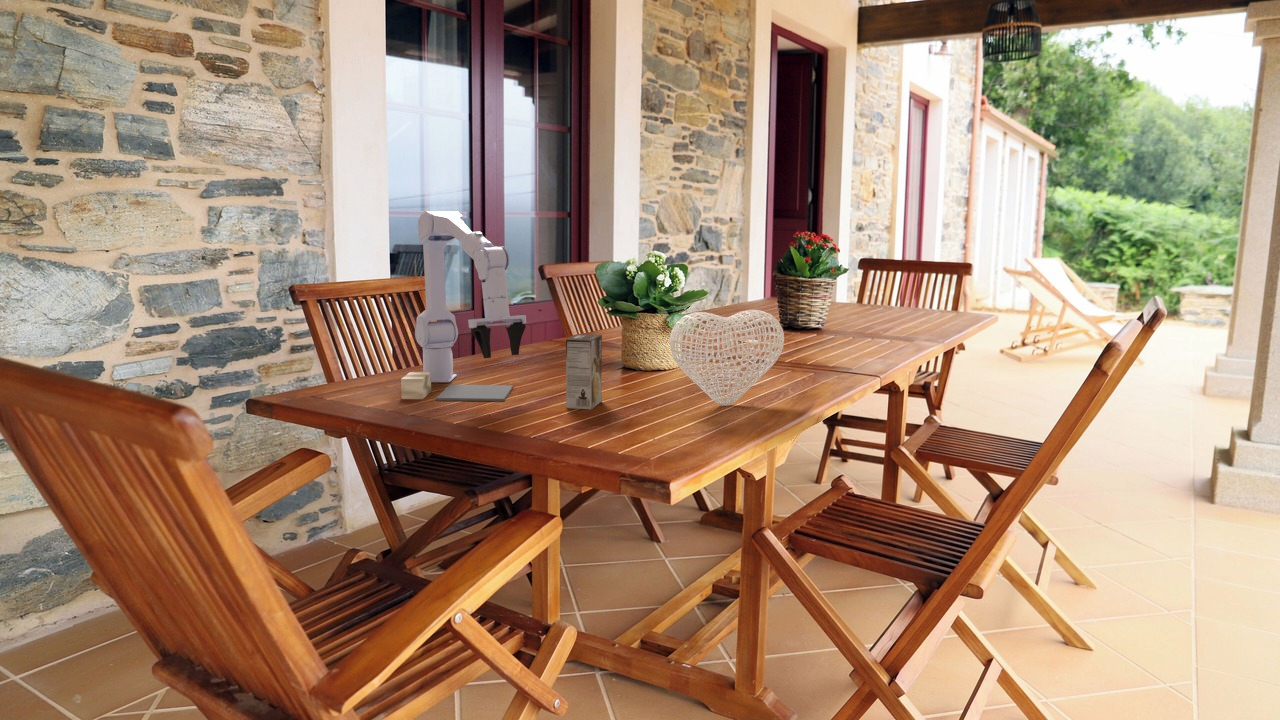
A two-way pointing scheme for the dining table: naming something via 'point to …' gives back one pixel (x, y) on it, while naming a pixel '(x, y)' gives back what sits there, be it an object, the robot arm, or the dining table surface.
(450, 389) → the rubber mat
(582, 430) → the dining table surface
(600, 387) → the coffee box
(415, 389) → the pale wooden block
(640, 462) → the dining table surface
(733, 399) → the heart
